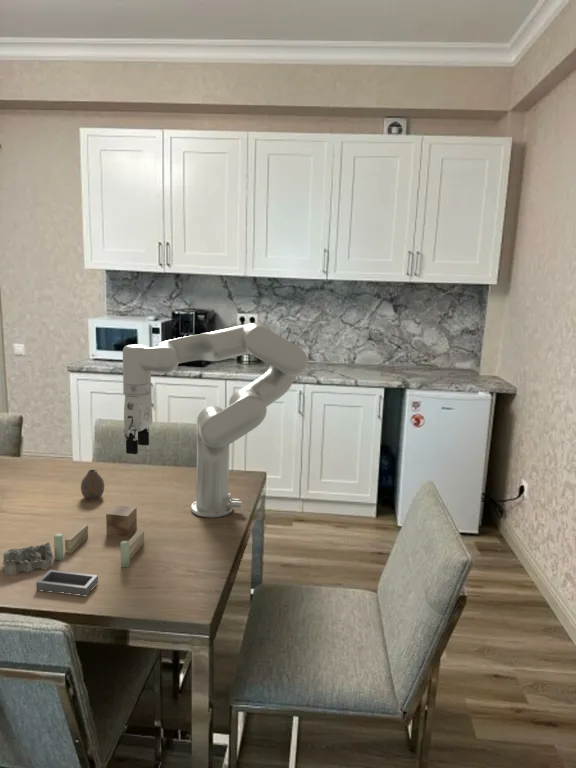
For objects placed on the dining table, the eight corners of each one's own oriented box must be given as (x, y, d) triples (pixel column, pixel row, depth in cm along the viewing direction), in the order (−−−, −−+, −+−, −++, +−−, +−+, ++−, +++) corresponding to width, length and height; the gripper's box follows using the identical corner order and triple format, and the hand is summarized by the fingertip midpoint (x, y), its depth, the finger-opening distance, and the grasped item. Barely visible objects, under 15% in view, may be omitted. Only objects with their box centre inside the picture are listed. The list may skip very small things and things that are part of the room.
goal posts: (130, 564, 140) (130, 541, 139) (127, 568, 138) (127, 545, 137) (57, 555, 142) (56, 533, 141) (53, 559, 140) (52, 536, 139)
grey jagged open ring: (3, 578, 132) (2, 561, 131) (3, 562, 138) (2, 547, 138) (53, 569, 136) (52, 553, 136) (51, 554, 143) (50, 539, 142)
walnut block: (136, 527, 160) (136, 507, 158) (127, 537, 154) (127, 516, 153) (116, 525, 160) (115, 505, 159) (106, 534, 155) (106, 514, 153)
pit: (98, 583, 131) (97, 575, 130) (86, 596, 125) (86, 588, 125) (50, 577, 132) (50, 569, 132) (36, 590, 127) (36, 582, 126)
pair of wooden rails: (144, 543, 151) (143, 530, 150) (130, 559, 142) (129, 546, 141) (82, 536, 153) (82, 524, 152) (65, 552, 144) (64, 539, 143)
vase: (89, 504, 174) (89, 476, 172) (76, 497, 178) (75, 470, 176) (109, 497, 179) (108, 470, 177) (95, 491, 183) (95, 465, 181)
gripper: (137, 396, 152) (138, 459, 156) (161, 383, 169) (161, 441, 172) (110, 394, 153) (112, 457, 157) (136, 382, 170) (137, 439, 173)
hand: (137, 448), depth 164 cm, fingers open, 7 cm apart
